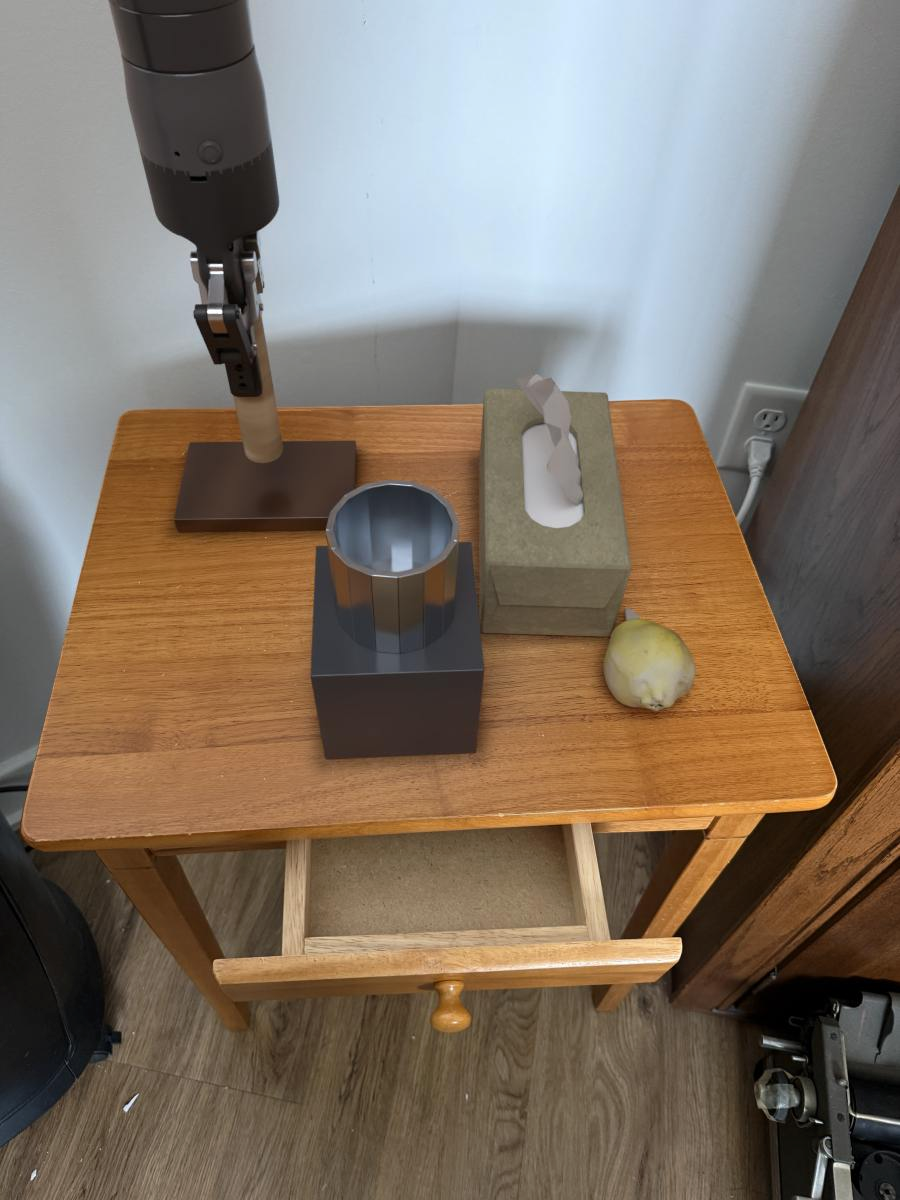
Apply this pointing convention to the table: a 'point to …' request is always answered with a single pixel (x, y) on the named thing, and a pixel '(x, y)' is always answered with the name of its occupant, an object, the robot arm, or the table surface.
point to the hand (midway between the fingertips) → (249, 377)
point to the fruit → (647, 664)
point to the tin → (393, 564)
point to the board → (263, 487)
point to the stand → (397, 680)
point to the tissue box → (549, 513)
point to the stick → (260, 411)
